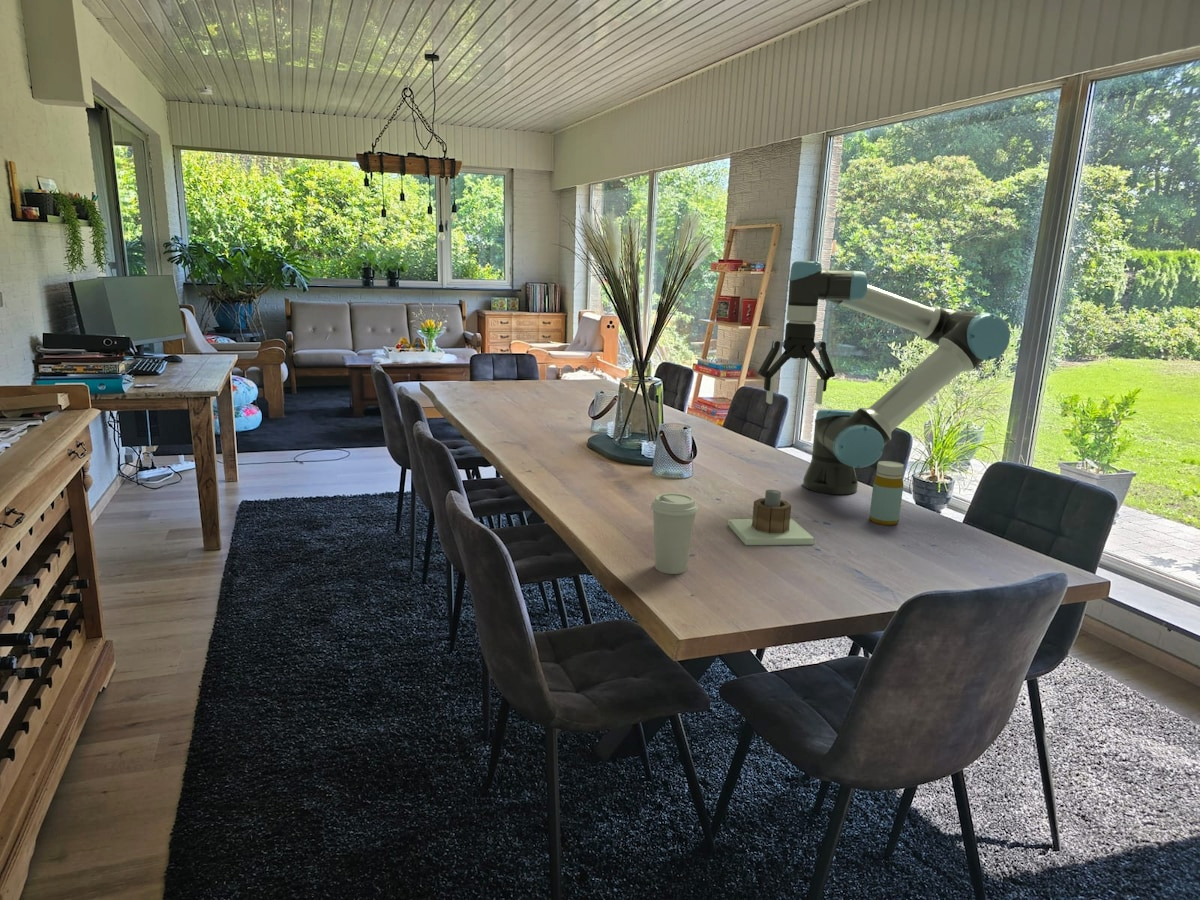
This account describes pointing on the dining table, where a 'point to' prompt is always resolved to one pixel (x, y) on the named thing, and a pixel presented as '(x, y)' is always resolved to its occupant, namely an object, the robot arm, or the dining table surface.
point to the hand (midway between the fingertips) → (793, 403)
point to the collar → (771, 517)
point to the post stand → (755, 537)
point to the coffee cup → (673, 531)
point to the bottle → (887, 493)
